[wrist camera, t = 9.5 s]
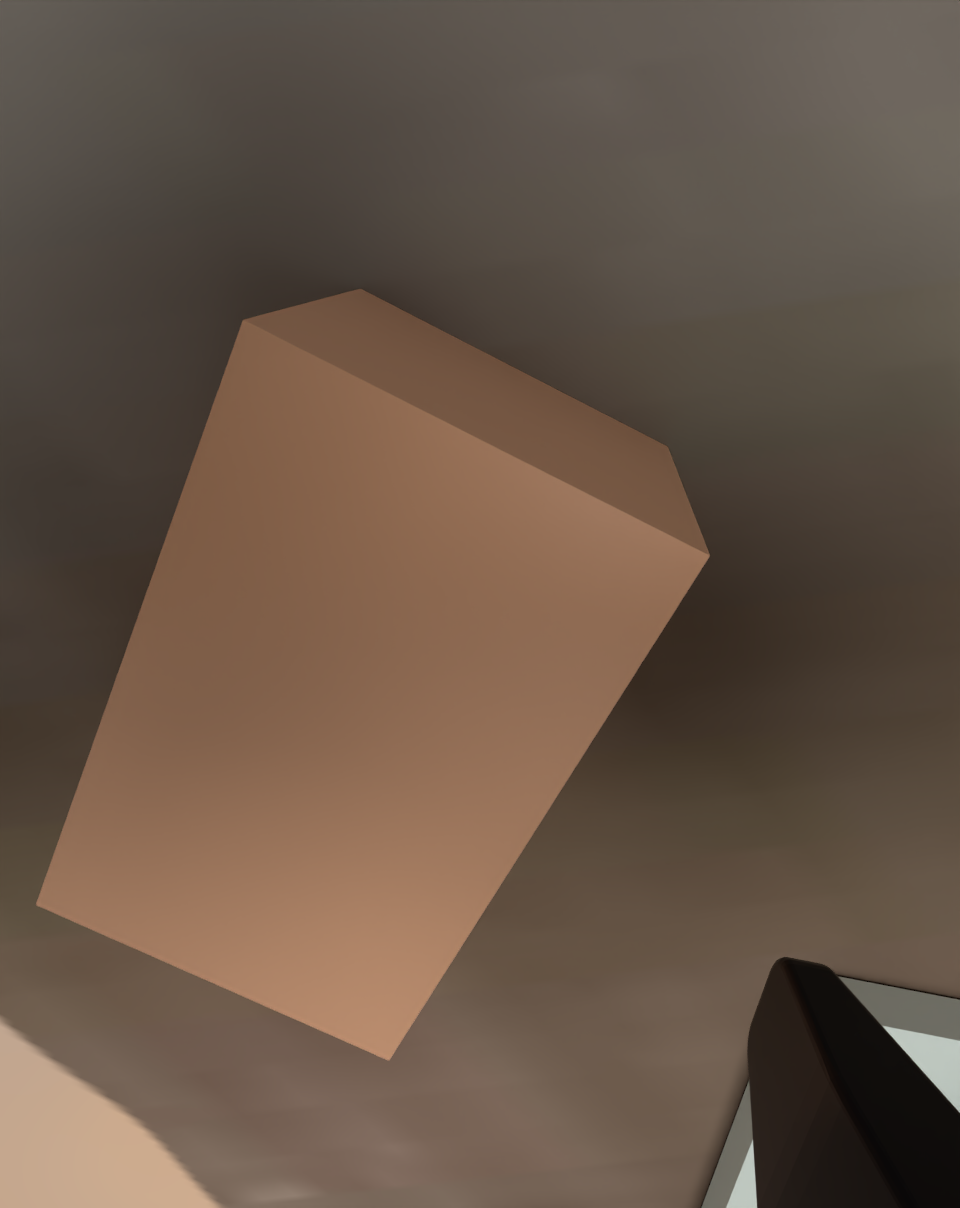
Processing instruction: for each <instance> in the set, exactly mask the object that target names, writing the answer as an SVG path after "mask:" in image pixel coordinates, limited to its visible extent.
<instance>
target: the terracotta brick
mask: <svg viewBox="0 0 960 1208" xmlns="http://www.w3.org/2000/svg"><path fill="white" fill-rule="evenodd" d="M709 557H710V554H709V552H708V549H707V547H706V544H705V541H704V539H703V536H702V534H701V531H700V528H699V526H698V523H697V521H696V518H695V516H694V513H693V510H692V508H691V505H690V503H689V500H688V498H687V495H686V492H685V490H684V487H683V485H682V482H681V480H680V477H679V474H678V472H677V469H676V467H675V464H674V461H673V459H672V456H671V454H670V451H669V449H668V447H667V446H666V445H664V444H662V443H660V442H658V441H656V440H654V439H652V438H650V437H648V436H646V435H644V434H642V433H640V432H638V431H636V430H634V429H632V428H631V427H629V426H627V425H625V424H623V423H621V422H619V421H617V420H615V419H613V418H611V417H609V416H607V415H605V414H603V413H601V412H599V411H598V410H596V409H594V408H592V407H590V406H588V405H586V404H584V403H582V402H580V401H578V400H576V399H574V398H572V397H570V396H568V395H566V394H564V393H563V392H561V391H559V390H557V389H555V388H553V387H551V386H549V385H547V384H545V383H543V382H541V381H539V380H537V379H535V378H533V377H531V376H529V375H528V374H526V373H524V372H522V371H520V370H518V369H516V368H514V367H512V366H510V365H508V364H506V363H504V362H502V361H500V360H498V359H496V358H494V357H493V356H491V355H489V354H487V353H485V352H483V351H481V350H479V349H477V348H475V347H473V346H471V345H469V344H467V343H465V342H463V341H461V340H460V339H458V338H456V337H454V336H452V335H450V334H448V333H446V332H444V331H442V330H440V329H438V328H436V327H434V326H432V325H430V324H428V323H426V322H425V321H423V320H421V319H419V318H417V317H415V316H413V315H411V314H409V313H407V312H405V311H403V310H401V309H399V308H397V307H395V306H393V305H391V304H390V303H388V302H386V301H384V300H382V299H380V298H378V297H376V296H374V295H372V294H370V293H368V292H366V291H364V290H362V289H357V290H353V291H349V292H346V293H342V294H338V295H334V296H330V297H327V298H323V299H319V300H315V301H312V302H308V303H304V304H300V305H297V306H293V307H289V308H285V309H281V310H278V311H274V312H270V313H266V314H263V315H259V316H255V317H251V318H248V319H244V320H243V321H242V324H241V327H240V330H239V333H238V336H237V338H236V341H235V344H234V347H233V350H232V352H231V355H230V358H229V361H228V364H227V367H226V369H225V372H224V375H223V378H222V381H221V384H220V386H219V389H218V392H217V395H216V398H215V400H214V403H213V406H212V409H211V412H210V415H209V417H208V420H207V423H206V426H205V429H204V432H203V434H202V437H201V440H200V443H199V446H198V448H197V451H196V454H195V457H194V460H193V463H192V465H191V468H190V471H189V474H188V477H187V480H186V482H185V485H184V488H183V491H182V494H181V496H180V499H179V502H178V505H177V508H176V511H175V513H174V516H173V519H172V522H171V525H170V528H169V530H168V533H167V536H166V539H165V542H164V544H163V547H162V550H161V553H160V556H159V559H158V561H157V564H156V567H155V570H154V573H153V576H152V578H151V581H150V584H149V587H148V590H147V592H146V595H145V598H144V601H143V604H142V607H141V609H140V612H139V615H138V618H137V621H136V624H135V626H134V629H133V632H132V635H131V638H130V640H129V643H128V646H127V649H126V652H125V655H124V657H123V660H122V663H121V666H120V669H119V672H118V674H117V677H116V680H115V683H114V686H113V688H112V691H111V694H110V697H109V700H108V703H107V705H106V708H105V711H104V714H103V717H102V719H101V722H100V725H99V728H98V731H97V734H96V736H95V739H94V742H93V745H92V748H91V751H90V753H89V756H88V759H87V762H86V765H85V767H84V770H83V773H82V776H81V779H80V782H79V784H78V787H77V790H76V793H75V796H74V799H73V801H72V804H71V807H70V810H69V813H68V815H67V818H66V821H65V824H64V827H63V830H62V832H61V835H60V838H59V841H58V844H57V847H56V849H55V852H54V855H53V858H52V861H51V863H50V866H49V869H48V872H47V875H46V878H45V880H44V883H43V886H42V889H41V892H40V895H39V897H38V900H37V903H36V905H37V906H39V907H41V908H44V909H46V910H48V911H51V912H53V913H55V914H57V915H60V916H62V917H64V918H66V919H69V920H71V921H73V922H75V923H78V924H80V925H82V926H85V927H87V928H89V929H91V930H94V931H96V932H98V933H100V934H103V935H105V936H107V937H109V938H112V939H114V940H116V941H119V942H121V943H123V944H125V945H128V946H130V947H132V948H134V949H137V950H139V951H141V952H144V953H146V954H148V955H150V956H153V957H155V958H157V959H159V960H162V961H164V962H166V963H168V964H171V965H173V966H175V967H178V968H180V969H182V970H184V971H187V972H189V973H191V974H193V975H196V976H198V977H200V978H202V979H205V980H207V981H209V982H212V983H214V984H216V985H218V986H221V987H223V988H225V989H227V990H230V991H232V992H234V993H236V994H239V995H241V996H243V997H246V998H248V999H250V1000H252V1001H255V1002H257V1003H259V1004H261V1005H264V1006H266V1007H268V1008H271V1009H273V1010H275V1011H277V1012H280V1013H282V1014H284V1015H286V1016H289V1017H291V1018H293V1019H295V1020H298V1021H300V1022H302V1023H305V1024H307V1025H309V1026H311V1027H314V1028H316V1029H318V1030H320V1031H323V1032H325V1033H327V1034H329V1035H332V1036H334V1037H336V1038H339V1039H341V1040H343V1041H345V1042H348V1043H350V1044H352V1045H354V1046H357V1047H359V1048H361V1049H363V1050H366V1051H368V1052H370V1053H373V1054H375V1055H377V1056H379V1057H382V1058H384V1059H386V1060H388V1061H389V1060H390V1058H391V1057H392V1055H393V1053H394V1052H395V1050H396V1049H397V1047H398V1046H399V1044H400V1042H401V1041H402V1039H403V1038H404V1036H405V1035H406V1033H407V1031H408V1030H409V1028H410V1027H411V1025H412V1024H413V1022H414V1020H415V1019H416V1017H417V1016H418V1014H419V1013H420V1011H421V1009H422V1008H423V1006H424V1005H425V1003H426V1002H427V1000H428V998H429V997H430V995H431V994H432V992H433V991H434V989H435V987H436V986H437V984H438V983H439V981H440V980H441V978H442V976H443V975H444V973H445V972H446V970H447V969H448V967H449V965H450V964H451V962H452V961H453V959H454V958H455V956H456V954H457V953H458V951H459V950H460V948H461V947H462V945H463V943H464V942H465V940H466V939H467V937H468V936H469V934H470V932H471V931H472V929H473V928H474V926H475V925H476V923H477V921H478V920H479V918H480V917H481V915H482V914H483V912H484V910H485V909H486V907H487V906H488V904H489V903H490V901H491V899H492V898H493V896H494V895H495V893H496V892H497V890H498V888H499V887H500V885H501V884H502V882H503V880H504V879H505V877H506V876H507V874H508V873H509V871H510V869H511V868H512V866H513V865H514V863H515V862H516V860H517V858H518V857H519V855H520V854H521V852H522V851H523V849H524V847H525V846H526V844H527V843H528V841H529V840H530V838H531V836H532V835H533V833H534V832H535V830H536V829H537V827H538V825H539V824H540V822H541V821H542V819H543V818H544V816H545V814H546V813H547V811H548V810H549V808H550V807H551V805H552V803H553V802H554V800H555V799H556V797H557V796H558V794H559V792H560V791H561V789H562V788H563V786H564V785H565V783H566V781H567V780H568V778H569V777H570V775H571V774H572V772H573V770H574V769H575V767H576V766H577V764H578V763H579V761H580V759H581V758H582V756H583V755H584V753H585V752H586V750H587V748H588V747H589V745H590V744H591V742H592V741H593V739H594V737H595V736H596V734H597V733H598V731H599V730H600V728H601V726H602V725H603V723H604V722H605V720H606V719H607V717H608V715H609V714H610V712H611V711H612V709H613V708H614V706H615V704H616V703H617V701H618V700H619V698H620V697H621V695H622V693H623V692H624V690H625V689H626V687H627V686H628V684H629V682H630V681H631V679H632V678H633V676H634V675H635V673H636V671H637V670H638V668H639V667H640V665H641V663H642V662H643V660H644V659H645V657H646V656H647V654H648V652H649V651H650V649H651V648H652V646H653V645H654V643H655V641H656V640H657V638H658V637H659V635H660V634H661V632H662V630H663V629H664V627H665V626H666V624H667V623H668V621H669V619H670V618H671V616H672V615H673V613H674V612H675V610H676V608H677V607H678V605H679V604H680V602H681V601H682V599H683V597H684V596H685V594H686V593H687V591H688V590H689V588H690V586H691V585H692V583H693V582H694V580H695V579H696V577H697V575H698V574H699V572H700V571H701V569H702V568H703V566H704V564H705V563H706V561H707V560H708V558H709Z"/></svg>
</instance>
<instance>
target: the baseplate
mask: <svg viewBox="0 0 960 1208" xmlns="http://www.w3.org/2000/svg"><path fill="white" fill-rule="evenodd" d="M838 977H839V976H838ZM839 978H840V979H841V980H842V981H843V983H844V984H845V985H846V986H847V987H848V988H849V989H850V990H851V991H852V993H853V994H854V995H855V996H856V997H857V998H858V999H859V1000H860V1002H861V1003H862V1004H863V1005H864V1006H865V1007H866V1008H867V1009H868V1010H869V1012H870V1013H871V1014H872V1015H873V1016H874V1017H875V1018H876V1019H877V1021H878V1022H879V1023H880V1024H881V1025H882V1026H883V1027H884V1028H885V1029H886V1031H887V1032H888V1033H889V1034H890V1035H891V1036H892V1037H893V1038H894V1040H895V1041H896V1042H897V1043H898V1044H899V1045H900V1046H901V1047H902V1049H903V1050H904V1051H905V1052H906V1053H907V1054H908V1055H909V1056H910V1057H911V1059H912V1060H913V1061H914V1062H915V1063H916V1064H917V1065H918V1066H919V1068H920V1069H921V1070H922V1071H923V1072H924V1073H925V1074H926V1075H927V1076H928V1078H929V1079H930V1080H931V1081H932V1082H933V1083H934V1084H935V1085H936V1087H937V1088H938V1089H939V1090H940V1091H941V1092H942V1093H943V1094H944V1095H945V1097H946V1098H947V1099H948V1100H949V1101H950V1102H951V1103H952V1104H953V1106H954V1107H955V1108H956V1109H957V1110H958V1111H959V1112H960V1000H958V999H953V998H948V997H943V996H937V995H932V994H927V993H922V992H917V991H911V990H906V989H901V988H896V987H891V986H886V985H880V984H875V983H870V982H865V981H860V980H854V979H849V978H844V977H839ZM701 1208H757V1198H756V1182H755V1166H754V1150H753V1134H752V1118H751V1102H750V1086H749V1082H748V1084H747V1087H746V1090H745V1092H744V1095H743V1098H742V1100H741V1103H740V1106H739V1108H738V1111H737V1114H736V1116H735V1119H734V1122H733V1124H732V1127H731V1130H730V1132H729V1135H728V1138H727V1140H726V1143H725V1146H724V1148H723V1151H722V1154H721V1157H720V1159H719V1162H718V1165H717V1167H716V1170H715V1173H714V1175H713V1178H712V1181H711V1183H710V1186H709V1189H708V1191H707V1194H706V1197H705V1199H704V1202H703V1205H702V1207H701Z"/></svg>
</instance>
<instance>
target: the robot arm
mask: <svg viewBox="0 0 960 1208" xmlns="http://www.w3.org/2000/svg"><path fill="white" fill-rule="evenodd" d="M748 1070H749V1086H750V1102H751V1118H752V1134H753V1150H754V1166H755V1182H756V1198H757V1208H960V1112H959V1111H958V1110H957V1109H956V1108H955V1107H954V1106H953V1104H952V1103H951V1102H950V1101H949V1100H948V1099H947V1098H946V1097H945V1095H944V1094H943V1093H942V1092H941V1091H940V1090H939V1089H938V1088H937V1087H936V1085H935V1084H934V1083H933V1082H932V1081H931V1080H930V1079H929V1078H928V1076H927V1075H926V1074H925V1073H924V1072H923V1071H922V1070H921V1069H920V1068H919V1066H918V1065H917V1064H916V1063H915V1062H914V1061H913V1060H912V1059H911V1057H910V1056H909V1055H908V1054H907V1053H906V1052H905V1051H904V1050H903V1049H902V1047H901V1046H900V1045H899V1044H898V1043H897V1042H896V1041H895V1040H894V1038H893V1037H892V1036H891V1035H890V1034H889V1033H888V1032H887V1031H886V1029H885V1028H884V1027H883V1026H882V1025H881V1024H880V1023H879V1022H878V1021H877V1019H876V1018H875V1017H874V1016H873V1015H872V1014H871V1013H870V1012H869V1010H868V1009H867V1008H866V1007H865V1006H864V1005H863V1004H862V1003H861V1002H860V1000H859V999H858V998H857V997H856V996H855V995H854V994H853V993H852V991H851V990H850V989H849V988H848V987H847V986H846V985H845V984H844V983H843V981H842V980H841V979H840V978H839V977H838V976H837V975H836V974H835V973H834V972H833V971H832V970H831V969H830V968H829V967H827V966H825V965H823V964H819V963H814V962H809V961H804V960H799V959H794V958H789V957H783V958H780V959H778V960H777V961H776V962H775V963H774V965H773V966H772V968H771V971H770V973H769V976H768V979H767V982H766V984H765V987H764V990H763V993H762V995H761V998H760V1001H759V1004H758V1006H757V1009H756V1012H755V1015H754V1017H753V1020H752V1023H751V1026H750V1031H749V1037H748Z"/></svg>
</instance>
